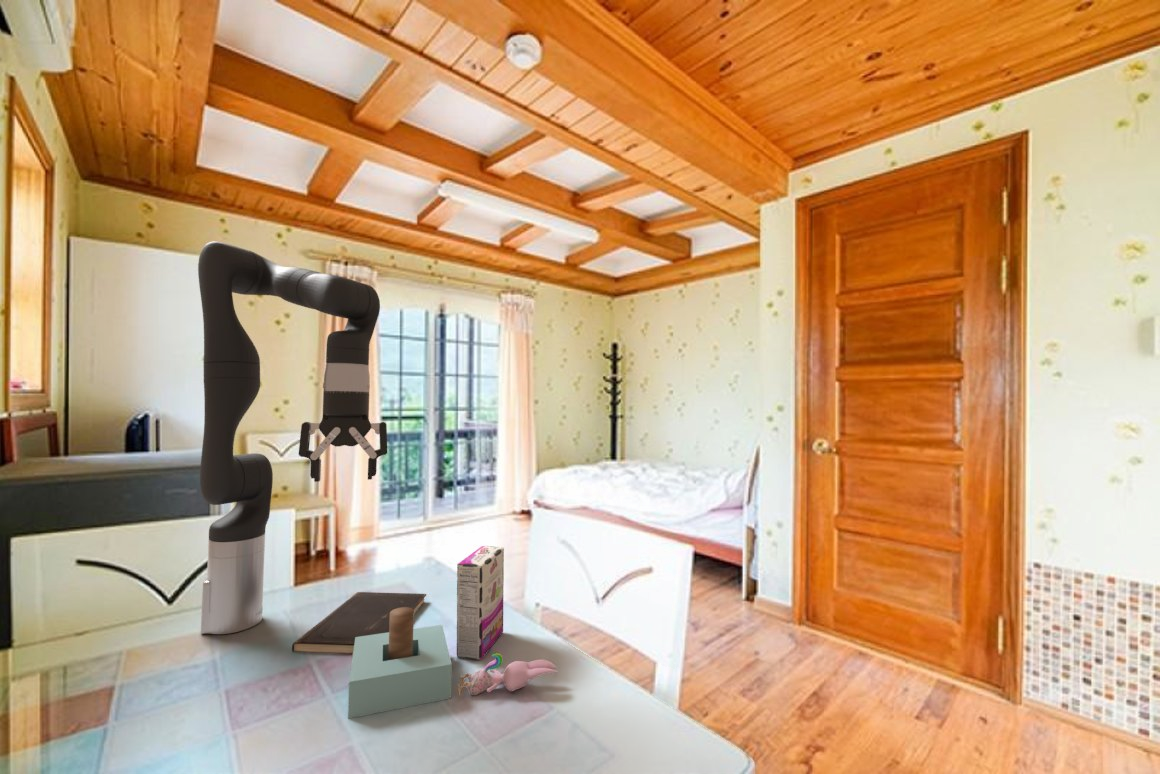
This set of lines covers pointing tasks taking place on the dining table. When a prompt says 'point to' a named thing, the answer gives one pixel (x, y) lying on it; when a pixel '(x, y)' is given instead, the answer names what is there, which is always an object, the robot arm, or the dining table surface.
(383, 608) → the hardcover book
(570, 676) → the dining table surface
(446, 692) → the square hole block
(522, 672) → the rabbit figure
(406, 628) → the brown round-topped dowel
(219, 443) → the robot arm
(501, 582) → the candy bar box
